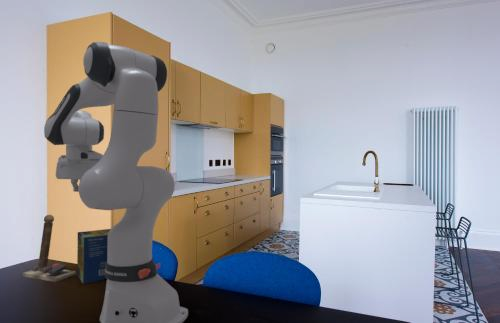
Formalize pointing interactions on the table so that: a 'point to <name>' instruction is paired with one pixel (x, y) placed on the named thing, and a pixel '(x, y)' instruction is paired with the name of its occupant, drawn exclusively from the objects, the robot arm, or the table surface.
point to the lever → (45, 242)
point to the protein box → (92, 255)
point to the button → (55, 265)
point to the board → (46, 276)
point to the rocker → (57, 269)
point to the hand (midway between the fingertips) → (78, 191)
